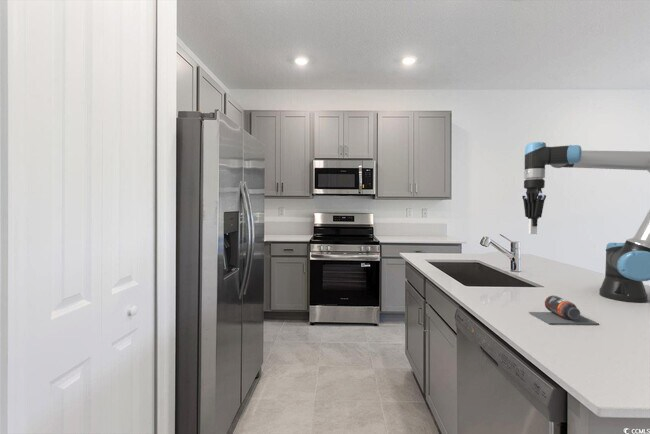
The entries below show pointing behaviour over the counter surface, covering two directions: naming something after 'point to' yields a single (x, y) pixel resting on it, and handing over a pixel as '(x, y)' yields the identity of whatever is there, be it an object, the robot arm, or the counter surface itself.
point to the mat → (562, 319)
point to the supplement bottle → (562, 307)
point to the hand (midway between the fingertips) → (532, 233)
